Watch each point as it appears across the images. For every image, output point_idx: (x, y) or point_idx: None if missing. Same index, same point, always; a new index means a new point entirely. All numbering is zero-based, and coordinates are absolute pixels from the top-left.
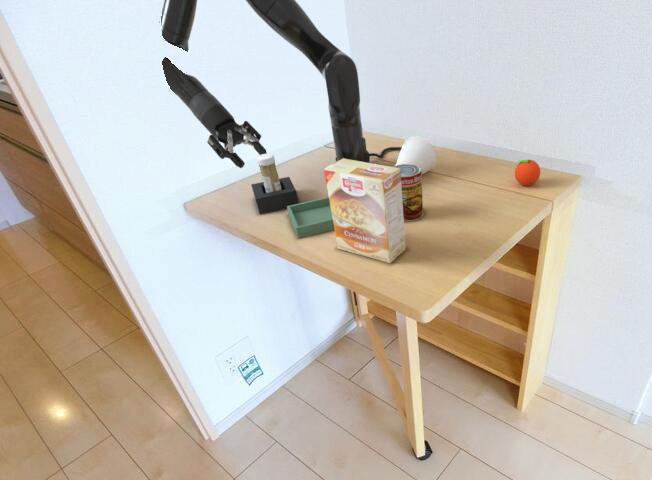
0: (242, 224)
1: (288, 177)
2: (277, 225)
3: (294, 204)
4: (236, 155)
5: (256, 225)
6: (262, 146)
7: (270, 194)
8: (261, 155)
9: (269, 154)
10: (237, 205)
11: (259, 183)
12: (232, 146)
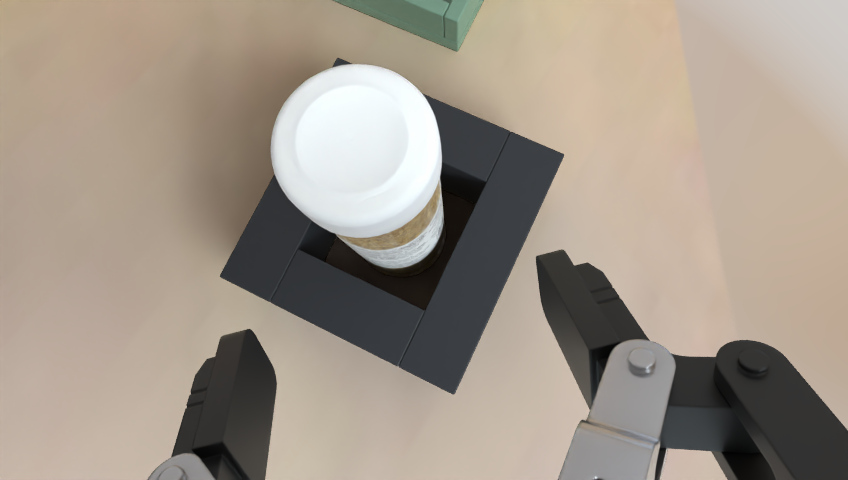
0: (669, 160)
1: (231, 267)
2: (553, 13)
3: (420, 3)
4: (592, 313)
5: (624, 93)
6: (190, 409)
7: (466, 134)
8: (361, 186)
9: (299, 135)
10: (572, 399)
11: (408, 354)
12: (591, 421)
